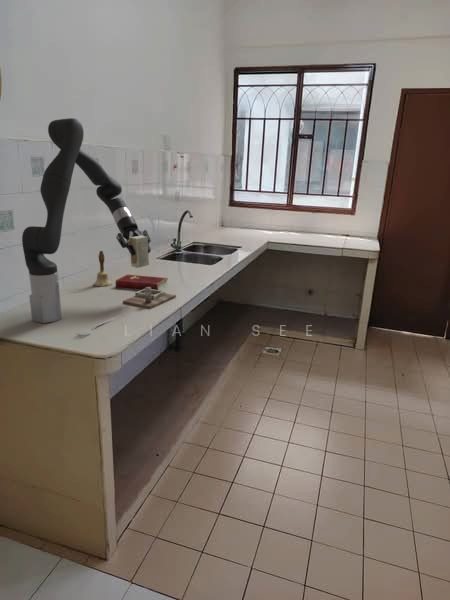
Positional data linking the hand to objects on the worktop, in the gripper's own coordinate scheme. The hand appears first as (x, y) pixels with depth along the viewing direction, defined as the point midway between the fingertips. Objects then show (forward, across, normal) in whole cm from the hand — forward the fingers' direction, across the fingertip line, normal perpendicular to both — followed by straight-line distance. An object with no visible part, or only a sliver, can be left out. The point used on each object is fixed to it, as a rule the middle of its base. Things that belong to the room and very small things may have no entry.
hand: (141, 253), depth 173 cm
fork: (+26, -29, +2) cm, 39 cm away
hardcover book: (+2, +11, +27) cm, 29 cm away
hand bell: (-8, -1, +37) cm, 38 cm away
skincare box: (+3, 0, +5) cm, 6 cm away
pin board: (+16, +1, +12) cm, 20 cm away
